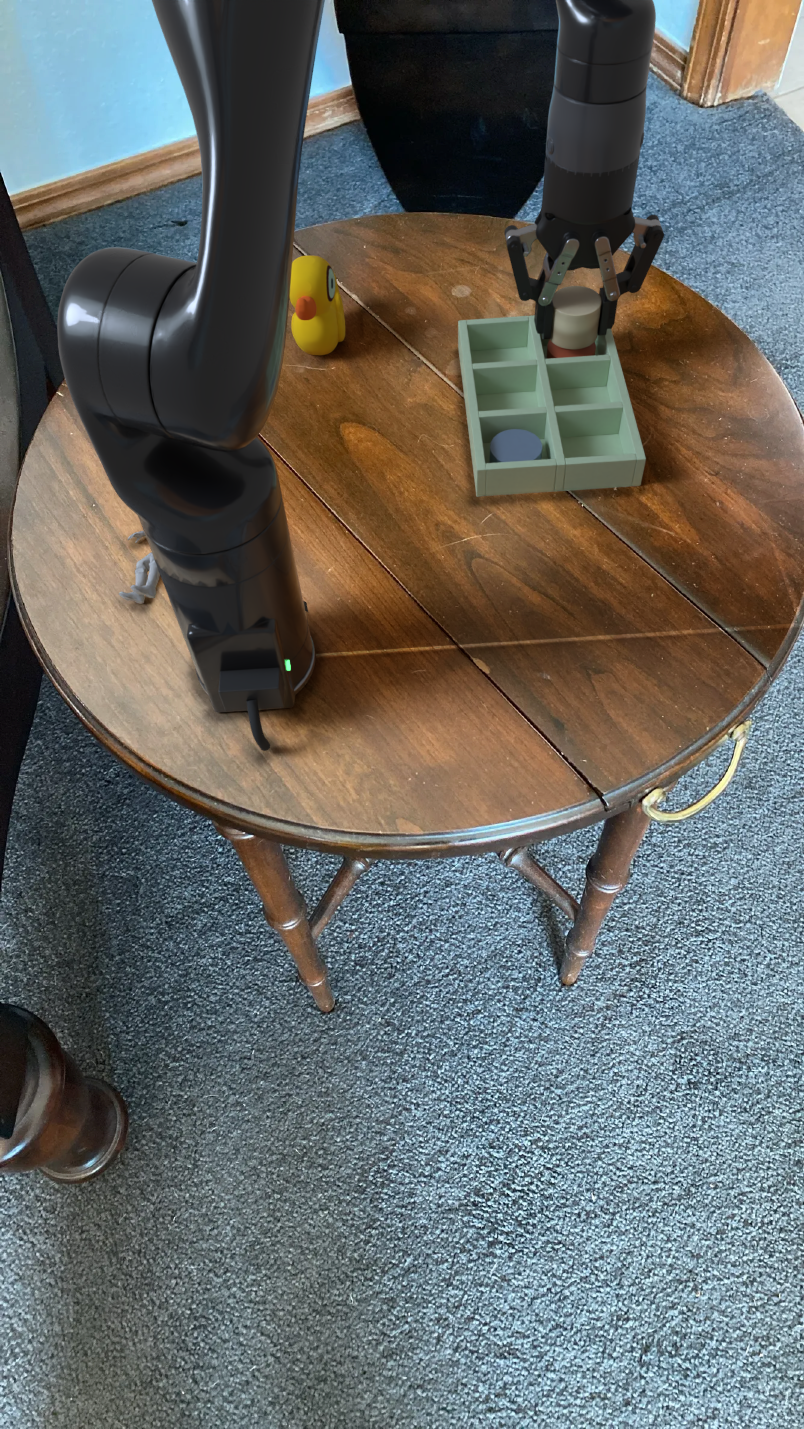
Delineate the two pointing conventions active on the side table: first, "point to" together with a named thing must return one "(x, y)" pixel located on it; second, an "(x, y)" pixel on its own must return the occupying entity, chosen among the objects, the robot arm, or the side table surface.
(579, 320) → the cream token
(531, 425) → the green rectangular divided tray
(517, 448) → the slate token
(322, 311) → the duckling
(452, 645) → the side table surface
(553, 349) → the terracotta token
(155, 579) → the soldier figure
